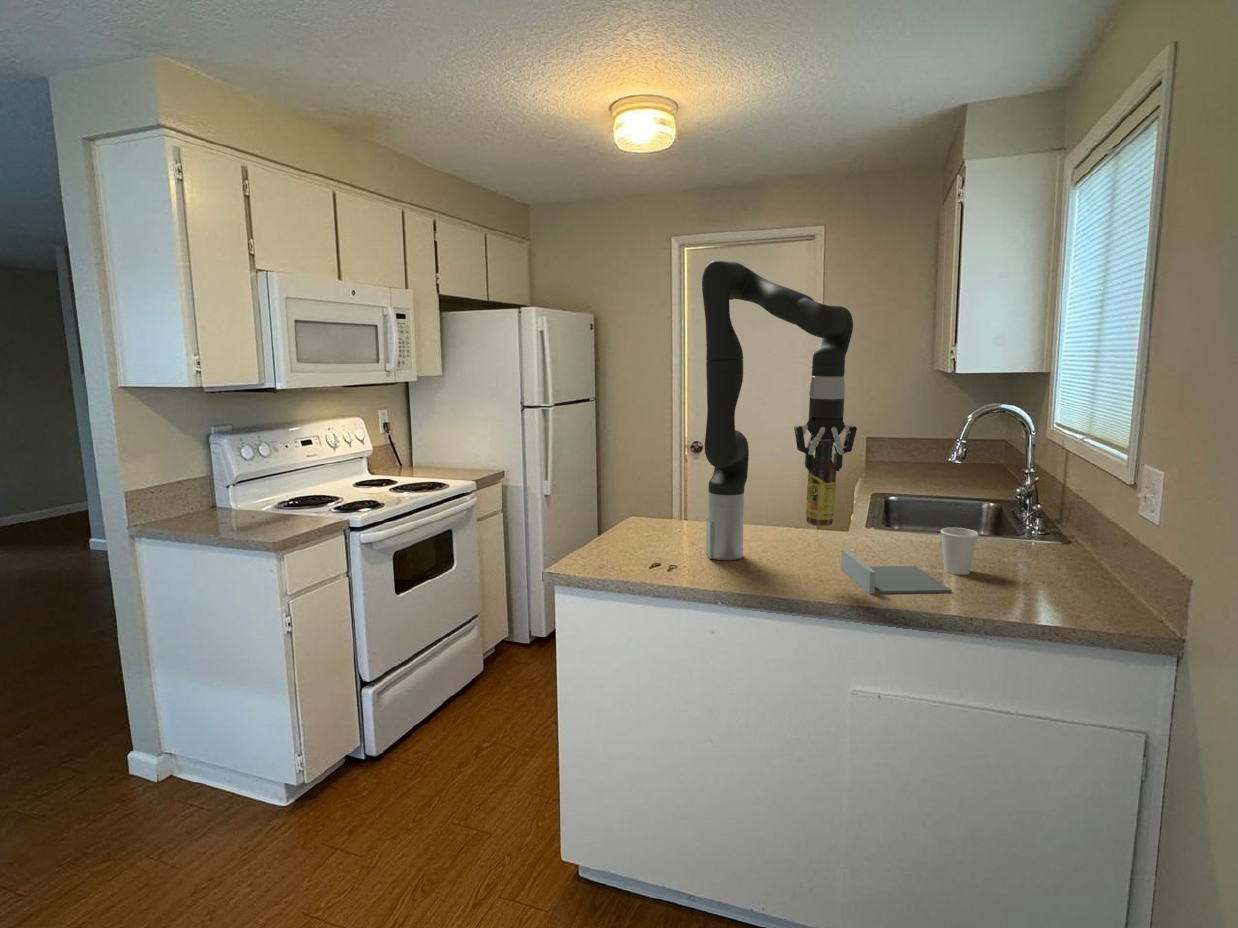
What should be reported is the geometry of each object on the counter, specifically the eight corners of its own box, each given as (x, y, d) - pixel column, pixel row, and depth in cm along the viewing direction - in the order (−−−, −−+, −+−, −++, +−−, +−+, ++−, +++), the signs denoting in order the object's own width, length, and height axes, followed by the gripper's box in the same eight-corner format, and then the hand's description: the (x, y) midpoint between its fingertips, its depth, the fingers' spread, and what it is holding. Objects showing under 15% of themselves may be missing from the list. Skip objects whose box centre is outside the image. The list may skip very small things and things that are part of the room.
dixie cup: (973, 567, 176) (976, 528, 174) (978, 578, 168) (981, 537, 166) (936, 564, 178) (939, 526, 177) (939, 574, 170) (942, 534, 169)
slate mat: (880, 593, 157) (880, 591, 157) (851, 569, 175) (851, 566, 175) (951, 592, 158) (951, 589, 158) (914, 568, 176) (915, 565, 176)
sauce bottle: (801, 520, 167) (804, 436, 163) (827, 519, 167) (831, 436, 164) (811, 527, 160) (814, 440, 157) (838, 526, 161) (842, 440, 157)
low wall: (869, 593, 157) (870, 572, 156) (840, 569, 175) (841, 549, 174) (874, 593, 157) (875, 572, 156) (845, 569, 175) (846, 549, 174)
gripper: (800, 397, 155) (796, 473, 158) (864, 397, 155) (860, 473, 158) (790, 395, 162) (787, 468, 165) (852, 395, 163) (848, 467, 166)
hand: (823, 470), depth 162 cm, fingers closed on sauce bottle, 5 cm apart
